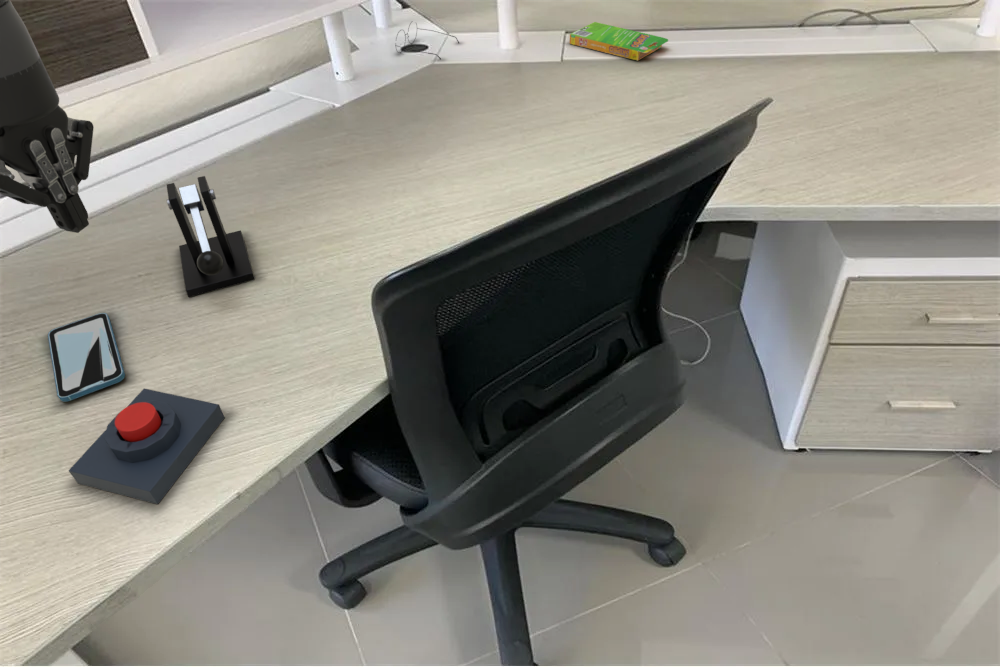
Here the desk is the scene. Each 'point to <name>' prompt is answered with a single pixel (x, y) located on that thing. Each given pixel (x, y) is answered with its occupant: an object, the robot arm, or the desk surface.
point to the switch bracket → (224, 244)
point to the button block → (149, 449)
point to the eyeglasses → (415, 38)
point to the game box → (616, 40)
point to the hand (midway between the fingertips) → (76, 228)
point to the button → (138, 422)
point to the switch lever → (200, 231)
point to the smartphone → (85, 357)
